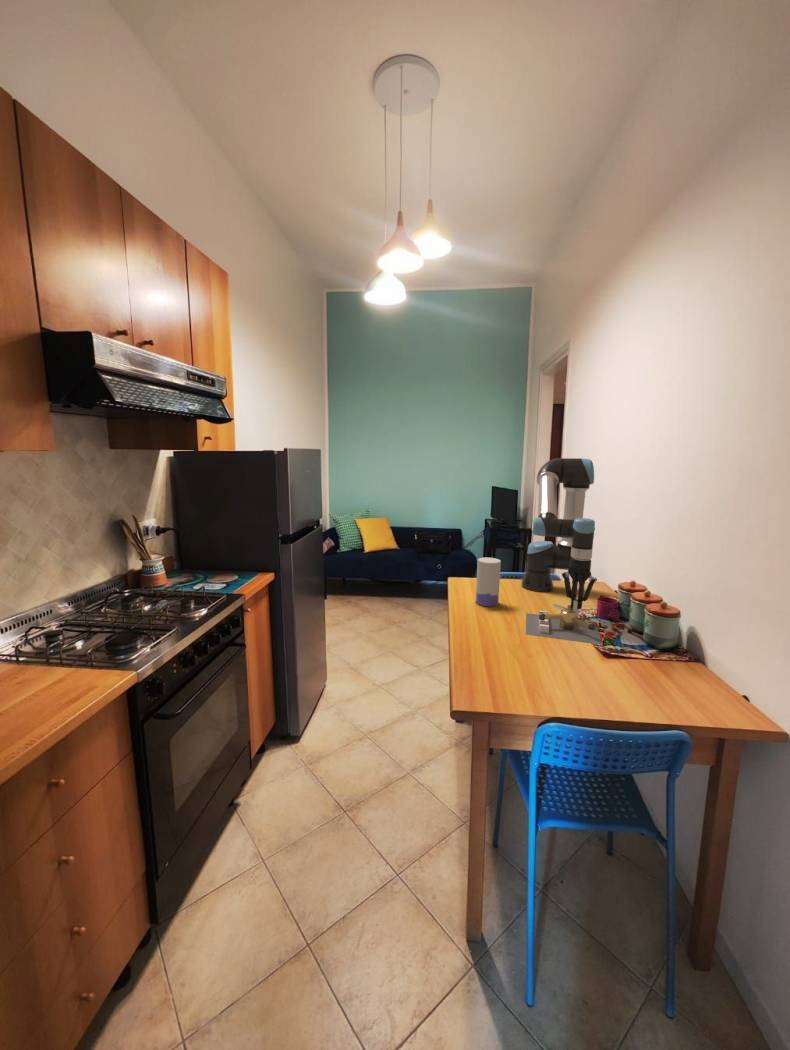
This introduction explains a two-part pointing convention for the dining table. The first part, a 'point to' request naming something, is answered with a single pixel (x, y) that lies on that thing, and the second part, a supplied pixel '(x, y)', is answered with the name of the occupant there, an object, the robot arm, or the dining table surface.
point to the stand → (560, 630)
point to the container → (488, 581)
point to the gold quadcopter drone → (567, 618)
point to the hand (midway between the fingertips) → (575, 615)
